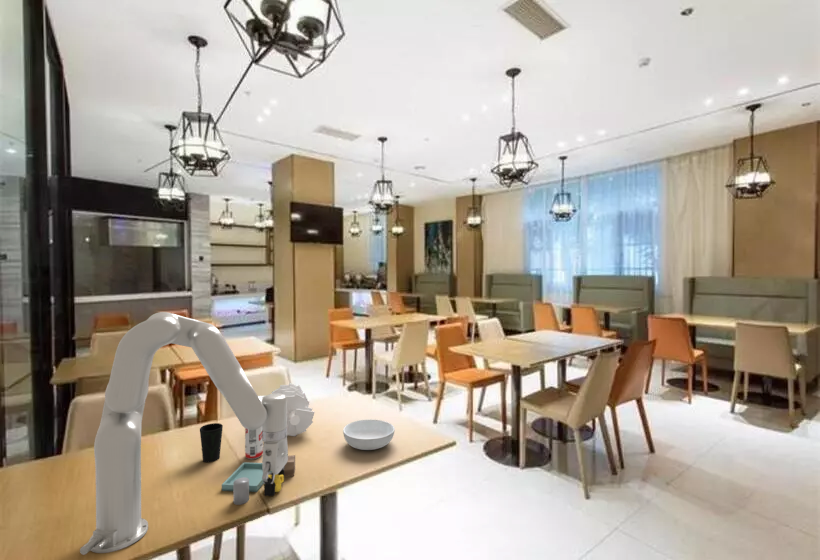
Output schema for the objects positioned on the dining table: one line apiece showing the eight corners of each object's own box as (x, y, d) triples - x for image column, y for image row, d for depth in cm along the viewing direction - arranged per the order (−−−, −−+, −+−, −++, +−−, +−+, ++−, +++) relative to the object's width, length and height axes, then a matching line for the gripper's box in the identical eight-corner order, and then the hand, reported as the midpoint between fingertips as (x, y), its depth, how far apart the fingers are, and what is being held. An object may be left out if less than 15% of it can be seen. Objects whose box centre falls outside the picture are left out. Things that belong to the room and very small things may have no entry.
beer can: (243, 461, 143) (244, 418, 143) (246, 453, 149) (246, 412, 149) (262, 459, 145) (262, 416, 145) (263, 451, 151) (263, 411, 151)
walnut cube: (294, 476, 133) (294, 461, 133) (278, 477, 132) (278, 463, 132) (295, 468, 138) (295, 455, 138) (280, 470, 137) (280, 456, 137)
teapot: (287, 493, 123) (287, 477, 123) (269, 499, 120) (269, 482, 119) (279, 482, 129) (279, 466, 129) (262, 487, 126) (262, 471, 126)
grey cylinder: (244, 505, 117) (244, 485, 116) (230, 504, 117) (230, 484, 117) (251, 496, 121) (251, 477, 121) (237, 496, 121) (237, 477, 121)
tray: (257, 492, 123) (257, 485, 123) (221, 490, 124) (221, 484, 124) (275, 468, 138) (275, 463, 138) (243, 467, 139) (243, 462, 139)
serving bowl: (401, 451, 152) (401, 434, 152) (349, 460, 145) (349, 442, 144) (385, 431, 172) (385, 416, 171) (338, 438, 164) (338, 422, 164)
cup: (213, 464, 141) (213, 432, 140) (194, 462, 142) (194, 430, 142) (227, 455, 148) (227, 424, 148) (209, 453, 150) (209, 422, 149)
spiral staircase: (283, 450, 162) (276, 425, 184) (322, 426, 168) (310, 405, 190) (263, 414, 157) (259, 393, 180) (304, 391, 163) (294, 373, 186)
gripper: (275, 446, 115) (275, 505, 115) (295, 423, 133) (295, 474, 133) (250, 445, 116) (250, 504, 116) (274, 422, 133) (274, 474, 133)
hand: (274, 488), depth 124 cm, fingers open, 6 cm apart
